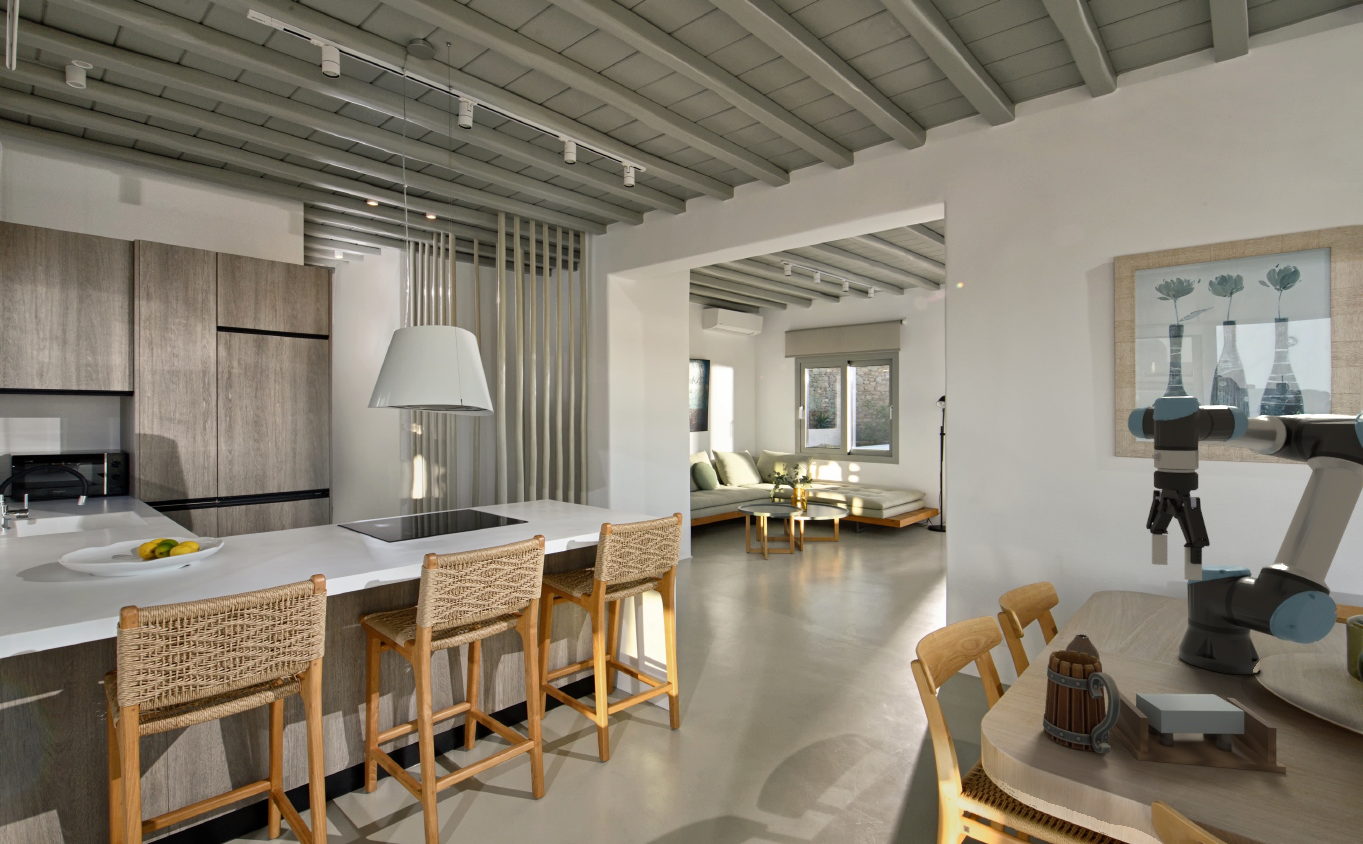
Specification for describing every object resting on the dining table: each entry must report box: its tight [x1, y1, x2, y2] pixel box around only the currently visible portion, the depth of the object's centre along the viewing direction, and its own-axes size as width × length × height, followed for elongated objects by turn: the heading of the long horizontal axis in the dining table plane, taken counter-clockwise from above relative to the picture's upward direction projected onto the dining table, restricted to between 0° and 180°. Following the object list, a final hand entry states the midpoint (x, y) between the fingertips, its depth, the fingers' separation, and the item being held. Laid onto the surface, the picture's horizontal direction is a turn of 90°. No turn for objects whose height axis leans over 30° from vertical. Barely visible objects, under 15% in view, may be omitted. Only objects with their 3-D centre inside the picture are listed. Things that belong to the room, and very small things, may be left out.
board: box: [1135, 693, 1244, 734], centre depth 120 cm, size 14×7×4 cm, turn 88°
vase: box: [1065, 633, 1101, 661], centre depth 154 cm, size 7×7×9 cm
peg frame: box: [1110, 689, 1287, 774], centre depth 120 cm, size 22×14×7 cm, turn 78°
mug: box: [1042, 649, 1120, 754], centre depth 121 cm, size 16×11×15 cm
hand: (1175, 571), depth 140 cm, fingers open, 13 cm apart
